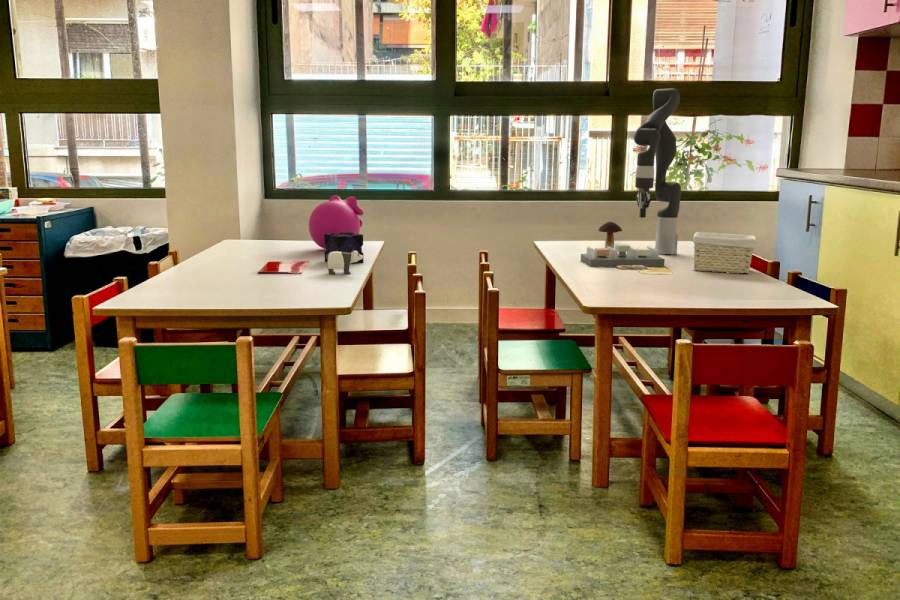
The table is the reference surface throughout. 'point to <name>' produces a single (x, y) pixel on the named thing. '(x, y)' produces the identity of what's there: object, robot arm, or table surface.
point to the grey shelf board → (622, 258)
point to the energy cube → (343, 243)
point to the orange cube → (602, 252)
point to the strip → (631, 267)
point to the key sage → (622, 249)
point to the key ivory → (643, 252)
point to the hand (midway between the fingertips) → (642, 217)
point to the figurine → (334, 218)
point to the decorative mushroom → (610, 232)
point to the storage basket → (723, 252)
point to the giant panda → (342, 260)
